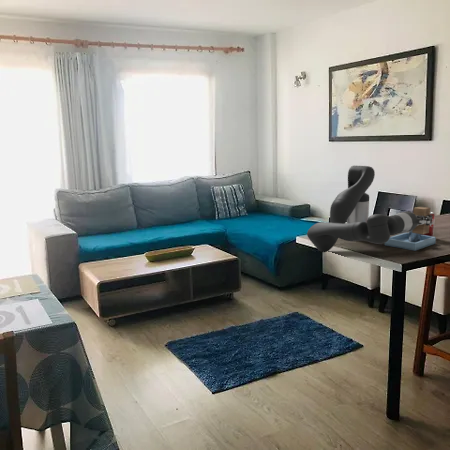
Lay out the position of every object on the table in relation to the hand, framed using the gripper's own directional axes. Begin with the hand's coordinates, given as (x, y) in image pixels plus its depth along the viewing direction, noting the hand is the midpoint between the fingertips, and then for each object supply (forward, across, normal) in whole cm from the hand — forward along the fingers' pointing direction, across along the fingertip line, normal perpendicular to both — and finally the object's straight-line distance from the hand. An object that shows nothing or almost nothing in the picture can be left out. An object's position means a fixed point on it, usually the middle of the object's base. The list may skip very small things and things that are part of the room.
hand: (424, 216), depth 200 cm
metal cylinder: (+15, -12, -14) cm, 24 cm away
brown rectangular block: (-3, 0, -6) cm, 7 cm away
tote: (+11, -12, -15) cm, 22 cm away
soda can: (+28, -14, -16) cm, 35 cm away
